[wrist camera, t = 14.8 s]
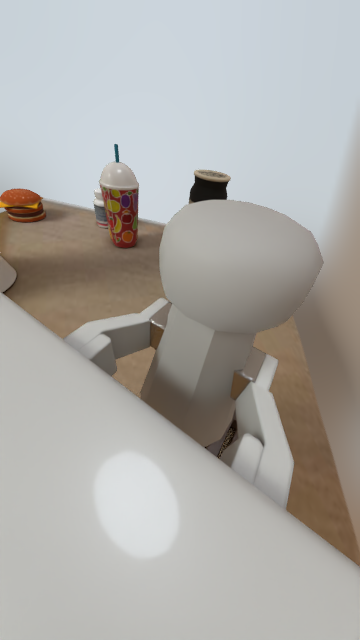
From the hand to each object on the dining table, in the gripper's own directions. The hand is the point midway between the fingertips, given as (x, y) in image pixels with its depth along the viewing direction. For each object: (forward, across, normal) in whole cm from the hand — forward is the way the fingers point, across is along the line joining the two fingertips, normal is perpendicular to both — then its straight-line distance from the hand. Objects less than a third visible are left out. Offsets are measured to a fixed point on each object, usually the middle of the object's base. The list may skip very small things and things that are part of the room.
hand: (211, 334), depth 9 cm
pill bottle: (+35, +49, +19) cm, 63 cm away
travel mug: (+39, +19, +19) cm, 47 cm away
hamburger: (+22, +67, +19) cm, 73 cm away
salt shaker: (-1, 0, +8) cm, 8 cm away
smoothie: (+30, +37, +19) cm, 51 cm away
